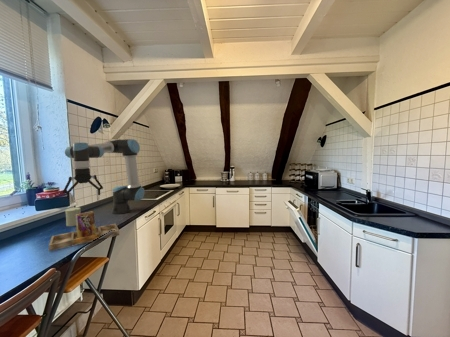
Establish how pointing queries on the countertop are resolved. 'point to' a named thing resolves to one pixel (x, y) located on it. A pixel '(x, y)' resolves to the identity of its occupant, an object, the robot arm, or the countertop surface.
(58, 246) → the rack
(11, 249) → the countertop surface
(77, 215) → the candy box
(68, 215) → the can
